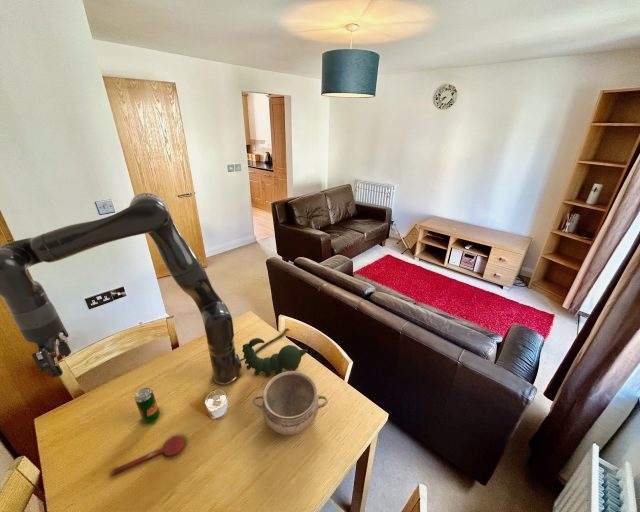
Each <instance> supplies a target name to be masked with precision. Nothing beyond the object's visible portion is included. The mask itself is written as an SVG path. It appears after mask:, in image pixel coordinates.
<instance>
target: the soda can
mask: <svg viewBox="0 0 640 512" xmlns="http://www.w3.org/2000/svg"><path fill="white" fill-rule="evenodd" d="M134 401H135V405H136V407H137V409H138V412H139V415H140V418H141V419H142V422H143V423H144V424H152V423H154V422H155V421H157V420H158V418H159V417H160V415H161V411H160V408H159V405H158V403H157V399H156V396H155V394H154V391H153V389H151V388H150V387H143V388H141V389H139V390H138V391H137V392H136V393H135V395H134Z"/></svg>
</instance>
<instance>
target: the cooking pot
mask: <svg viewBox="0 0 640 512" xmlns="http://www.w3.org/2000/svg"><path fill="white" fill-rule="evenodd" d="M260 399H261V400H262V403H258V402H256V401H257V400H260ZM319 400H324V402H323V403H320V402H319ZM328 403H329V399H328V397H327V396H325V395H319V394H318V389H317V386H316V383H315V382H314V380H313V379H312V378H311V377H310V376H309V375H307V374H306V373H304V372H301V371H297V370H294V371H293V370H287V371H282V373H280V374H278V375H277V374H275V376H273V377H272V378H271V379H270V380H268V382H267V384H266V386H265V387H264V390H263V395H257V396H254V398H253V399H252V404H253V405H254V406H255V407H257V408H259V409H261V413H262V417H263V419H264V421H265V423H266V424H267V426H268V427H269V428H270V429H271V430H273V431H274V432H276V433H278V434H280V435H285V436H292V435H298V434H300V433H302V432H304V431H305V430H306V429H308V428H309V427H310V426H311V425H312V424H313V422H314V421H316V420H315V419H316V418H317V415H318V413H319V409H322V408H324V407H325V406H326V405H327V404H328Z"/></svg>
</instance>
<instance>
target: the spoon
mask: <svg viewBox="0 0 640 512" xmlns="http://www.w3.org/2000/svg"><path fill="white" fill-rule="evenodd" d="M184 445H185V440H184V439H183V437H182V436H180V435H179V436H178V435H175V436H173V437H171V438H169V439H168V440H166V442H165V443H164V446H163V447H161V448H158V449H156V450H155V451H152V452H150V453H148V454H145V455H143V456H141V457H138V458H136V459H135V460H132V461H130V462H128V463H124V464H123V465H121V466H118V467H116V468H114V469H113V470H112V471H111V475H112V476H116V475H118V474H120V473H122V472H124V471H126V470H127V471H128V470H129V469H131V468H133V467H136V466H138V465H140V464H142V463H144V462H146V461H149V460H152V459H153V458H155V457H158V456H160V455H162V454H164V455H165V457H168V458H171V457H172V458H173V457H175V456H177V455H178V454H180V453H181V451H182V450H183V448H184Z"/></svg>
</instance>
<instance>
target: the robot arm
mask: <svg viewBox="0 0 640 512" xmlns="http://www.w3.org/2000/svg"><path fill="white" fill-rule="evenodd" d="M145 234H148V235H149V237H150V238H151V240H152V241H153V243H154V245H155V246H156V248H157V250H158V253H159V255H160V257H161V260H162V262H163V264H164V267H165V268H166V270H167V272H168V274H169V275H170V277H171V278H172V279H173V281H174V282H175V284H176V285H177V286H178V287H179V289H181V291H182V292H184V293H185V294H187V296H189V297H190V298H191V299H192V300H193V302H194V303H195V305H196V307H197V309H198V311H199V313H200V316H201V319H202V323H203V327H204V331H205V336H206V344H207V348H208V354H209V358H210V364H211V365H210V366H211V369H212V376H213V381H214V382H215V383H216V384H217V385H221V386H224V385H225V386H227V385H230V384H231V383H233V382H234V381H236V380H237V378H238V377H239V378H240V377H241V375H240V369H242V367H243V366H242V361H246V358H244V357H242V358H240V356H239V354H238V353H236V346H235V339H234V338H235V330H234V322H233V317H232V315H231V312H230V310H229V308H228V306H227V305H226V303H225V302H224V301H223V300H222V298H221V297H220V296H219V295H218V293H217V292H216V290H215V289H214V287H213V286H212V284H211V281H210V277H209V275H208V274H207V271H206V269H205V268H204V266H203V264H202V263H201V262H200V259H199V258H198V256H197V255H196V254H195V252H194V250H193V249H192V248H191V246H190V245H189V244H188V242H187V241H186V239H185V238H184V237H183V236H182V234H181V233H180V231H179V229H178V227H177V226H176V224H175V221H174V220H173V218H172V215H171V213H170V210H169V208H168V205H167V203H166V202H165V200H164V199H162V198H161V197H160V196H159V195H157V194H155V193H151V192H141V193H137V194H136V195H134V196H133V198H132V199H131V201H130V202H129V205H128V206H127V207H126V208H124V209H122V210H120V211H117V212H116V213H114V214H111V215H109V216H106V217H103V218H99V219H95V220H90V221H84V222H78V223H74V224H69V225H66V226H62V227H59V228H56V229H53V230H50V231H47V232H45V233H41V234H39V235H36V236H33V237H27V238H22V239H18V240H17V239H16V240H14V241H10V242H7V243H4V244H1V245H0V297H1V298H2V299H3V301H4V303H5V305H6V306H7V308H8V310H9V312H10V314H11V316H12V319H13V321H14V323H15V325H16V326H17V328H18V330H19V332H20V333H21V335H22V336H23V338H24V340H25V341H26V342H27V343H33V344H36V348H37V350H38V351H36V352H32V355H31V356H32V359H33V360H34V362H35V364H36V366H37V368H38V370H39V372H40V373H45V372H48V373H49V375H50V376H51V378H57V377H61V376H63V374H64V371H63V369H62V368H61V366H60V364H59V361H58V357H59V356H61V357H65V356H69V355H71V353H72V349H71V348H70V346H69V343H68V342H69V339H68V338H69V335H70V334H69V333H68V331H67V329H66V327H65V326H64V323H63V321H62V319H61V317H60V315H59V313H58V311H57V309H56V306H55V305H54V304H53V303H52V301H51V300H50V299H49V297H48V294H47V292H46V291H45V289H44V287H43V285H42V284H41V283H40V282H39V281H37V280H34V279H31V278H30V276H29V274H28V273H27V271H28V269H29V268H30V267H33V266H35V265H38V264H40V263H56V262H58V261H62V260H64V259H68V258H70V257H72V256H76V255H78V254H81V253H84V252H86V251H89V250H92V249H94V248H98V247H100V246H103V245H106V244H109V243H112V242H115V241H119V240H123V239H126V238H130V237H136V236H140V235H145ZM289 330H290V328H288V327H287V328H285V329H284V330H283V332H282V333H281V334H280V335H278V336H277V337H275V338H272V339H271V340H269V341H268V342H266V343H263V345H262V346H260V347H258V349H257V350H256V351H254V353H256V354H258V352H259V351H261V350H262V349H263V348H265V347H266V346H268V345H269V344H271V343H272V342H274V341H277V340H278V339H280V338H281V337H283V336H284V335H285V333H286V331H289Z"/></svg>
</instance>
